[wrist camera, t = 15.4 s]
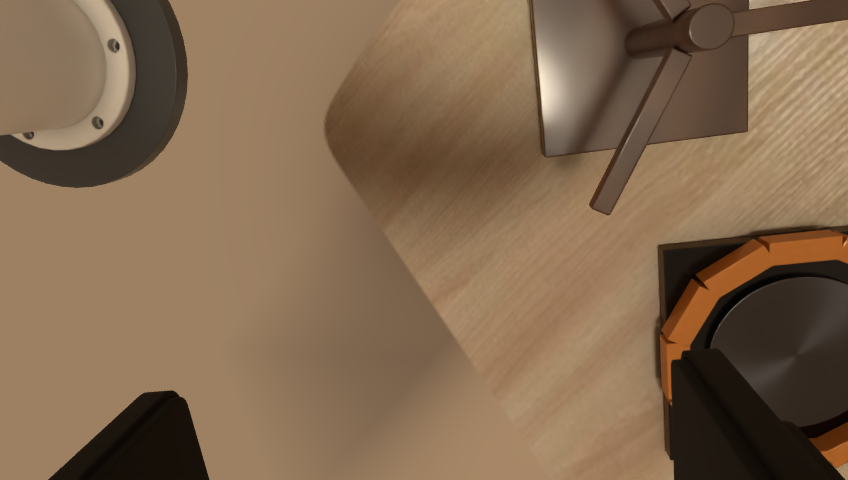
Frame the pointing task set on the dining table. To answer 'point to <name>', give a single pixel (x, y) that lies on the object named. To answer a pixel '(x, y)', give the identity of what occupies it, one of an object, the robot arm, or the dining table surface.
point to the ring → (732, 273)
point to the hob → (772, 331)
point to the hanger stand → (648, 73)
